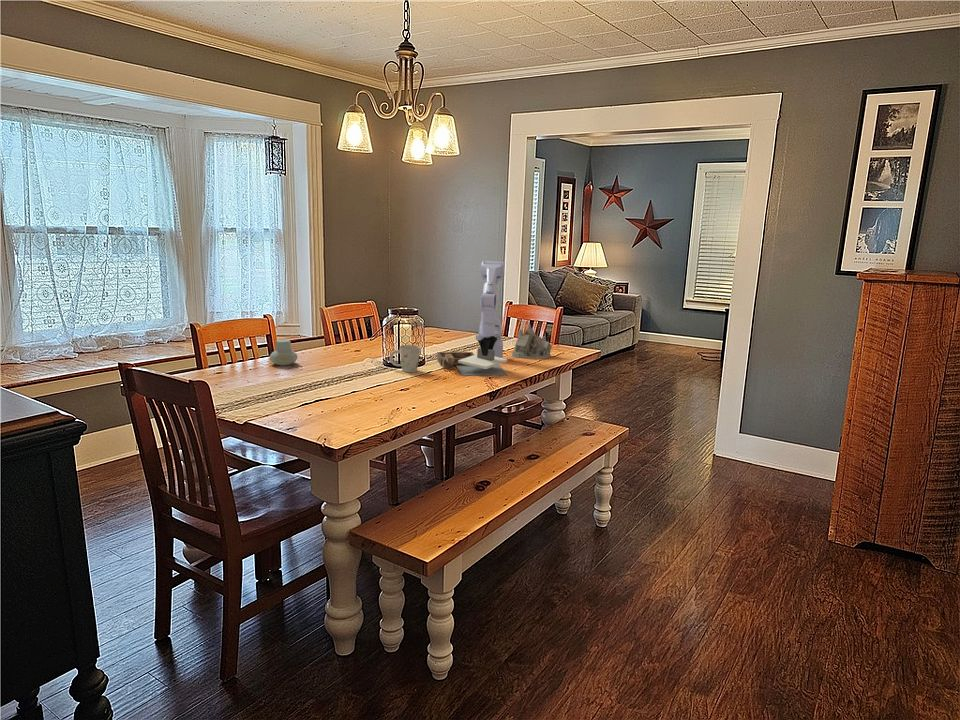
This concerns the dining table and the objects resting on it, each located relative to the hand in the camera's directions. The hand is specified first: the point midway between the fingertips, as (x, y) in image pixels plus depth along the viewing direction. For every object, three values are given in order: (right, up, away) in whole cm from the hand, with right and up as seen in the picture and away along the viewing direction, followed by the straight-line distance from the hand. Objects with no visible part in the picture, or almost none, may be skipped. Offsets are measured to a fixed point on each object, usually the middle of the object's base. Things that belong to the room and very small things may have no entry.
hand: (486, 354), depth 265 cm
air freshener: (-84, -4, -1) cm, 84 cm away
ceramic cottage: (+21, -1, +34) cm, 40 cm away
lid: (-2, -3, -1) cm, 3 cm away
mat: (-2, -7, +1) cm, 7 cm away
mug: (-34, -7, -4) cm, 35 cm away
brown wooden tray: (-13, -4, +12) cm, 18 cm away
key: (-16, -2, -1) cm, 16 cm away
